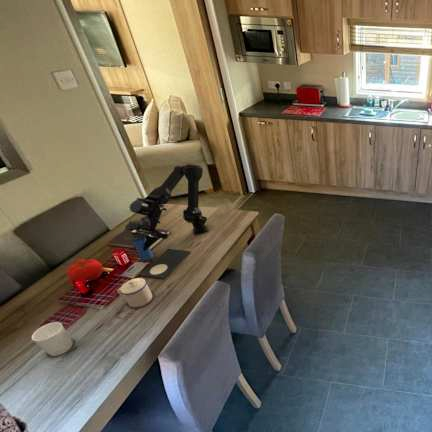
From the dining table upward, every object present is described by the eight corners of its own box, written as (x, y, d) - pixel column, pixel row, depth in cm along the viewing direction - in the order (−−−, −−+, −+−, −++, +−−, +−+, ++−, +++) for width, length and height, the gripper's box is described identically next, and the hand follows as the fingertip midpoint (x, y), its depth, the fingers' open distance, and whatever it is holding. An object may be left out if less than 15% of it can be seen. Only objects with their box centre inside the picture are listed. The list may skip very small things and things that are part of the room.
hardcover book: (150, 250, 163) (148, 247, 162) (109, 245, 165) (107, 242, 163) (170, 232, 176) (169, 229, 175) (132, 228, 178) (131, 225, 177)
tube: (140, 257, 149) (130, 235, 142) (153, 253, 152) (143, 232, 144) (141, 263, 146) (130, 241, 138) (154, 259, 148) (144, 237, 141)
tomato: (108, 277, 146) (100, 263, 141) (75, 290, 139) (65, 275, 134) (103, 266, 152) (95, 252, 147) (71, 278, 144) (61, 263, 139)
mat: (168, 249, 164) (168, 248, 164) (190, 252, 164) (189, 251, 163) (139, 276, 148) (139, 274, 147) (163, 279, 147) (163, 277, 147)
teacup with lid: (157, 292, 140) (148, 273, 134) (145, 308, 133) (134, 289, 126) (130, 292, 140) (119, 273, 133) (116, 308, 132) (104, 288, 126)
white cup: (58, 339, 119) (43, 322, 113) (80, 338, 120) (67, 321, 114) (41, 358, 112) (25, 341, 107) (64, 357, 113) (50, 340, 108)
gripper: (120, 209, 141) (106, 242, 138) (153, 217, 137) (140, 251, 134) (142, 214, 151) (130, 245, 149) (173, 222, 148) (161, 254, 145)
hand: (139, 249), depth 144 cm, fingers closed on tube, 5 cm apart
